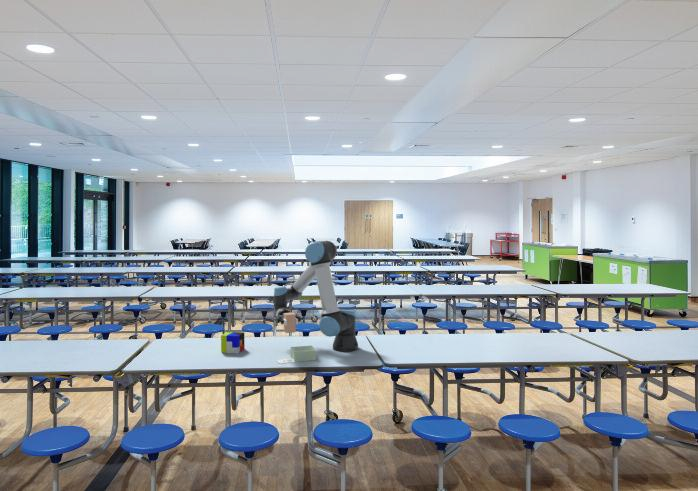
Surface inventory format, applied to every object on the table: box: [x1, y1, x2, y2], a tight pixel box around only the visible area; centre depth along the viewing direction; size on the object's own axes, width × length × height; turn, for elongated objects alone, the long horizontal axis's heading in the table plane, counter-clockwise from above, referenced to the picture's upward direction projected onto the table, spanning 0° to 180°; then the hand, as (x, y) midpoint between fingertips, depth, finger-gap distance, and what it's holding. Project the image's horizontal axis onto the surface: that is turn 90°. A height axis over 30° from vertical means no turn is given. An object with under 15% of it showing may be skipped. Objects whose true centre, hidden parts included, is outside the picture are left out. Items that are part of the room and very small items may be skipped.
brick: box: [283, 312, 297, 334], centre depth 284 cm, size 6×6×10 cm
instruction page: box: [275, 357, 299, 365], centre depth 277 cm, size 10×7×1 cm
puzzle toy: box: [220, 331, 246, 354], centre depth 299 cm, size 10×10×10 cm
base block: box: [290, 345, 317, 362], centre depth 283 cm, size 12×12×5 cm
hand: (291, 322), depth 278 cm, fingers closed on brick, 5 cm apart
